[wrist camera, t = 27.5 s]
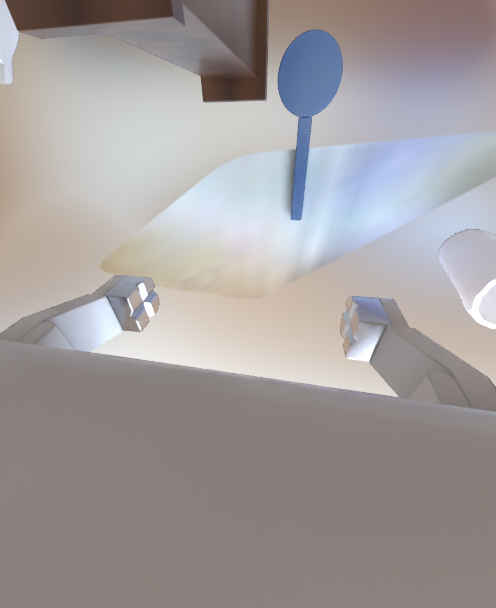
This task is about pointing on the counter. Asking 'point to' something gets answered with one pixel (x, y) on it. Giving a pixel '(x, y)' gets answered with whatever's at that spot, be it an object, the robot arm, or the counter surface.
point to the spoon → (308, 93)
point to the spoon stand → (170, 35)
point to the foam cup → (473, 272)
